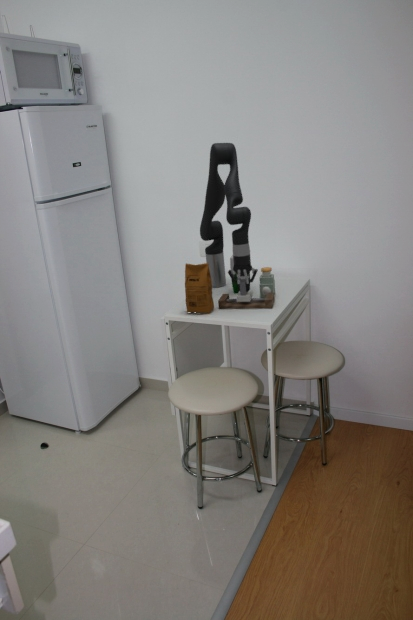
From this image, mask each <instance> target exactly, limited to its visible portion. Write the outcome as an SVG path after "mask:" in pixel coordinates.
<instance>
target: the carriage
mask: <svg viewBox="0 0 413 620" xmlns="http://www.w3.org/2000/svg"><path fill="white" fill-rule="evenodd" d="M253 293H254V292H253V290H249V291H248V292H246V279H242V280H241V281H240V291H239V292H238V294H236V296H235V297H236V298H235V299H236V300H237V302H250V301H251V298H253V297H254V295H253Z"/></svg>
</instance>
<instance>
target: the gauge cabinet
mask: <svg viewBox="0 0 413 620" xmlns="http://www.w3.org/2000/svg"><path fill="white" fill-rule="evenodd" d="M275 287H276V280H275V274H274V273H271V277H263V276H262V274H260V276H259V295H260V296H259V298H266V296H267V294H268V293H274V294H275V295H276V288H275Z"/></svg>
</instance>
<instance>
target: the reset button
mask: <svg viewBox="0 0 413 620" xmlns="http://www.w3.org/2000/svg"><path fill="white" fill-rule="evenodd" d="M260 270H261V273H262V274H261V275H262V276H263V277H271V274H272V270H273V269H272V267H269V266H268V267H267V266H266V267H262V268H260Z"/></svg>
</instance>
